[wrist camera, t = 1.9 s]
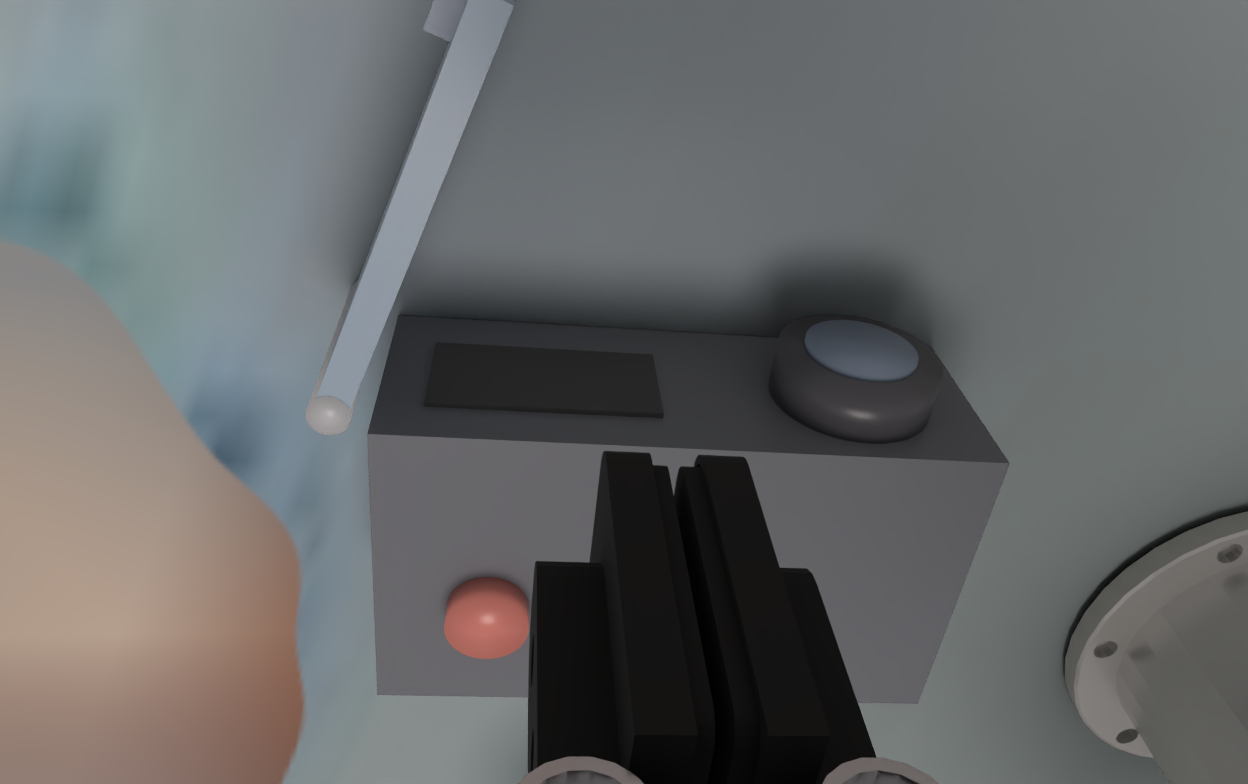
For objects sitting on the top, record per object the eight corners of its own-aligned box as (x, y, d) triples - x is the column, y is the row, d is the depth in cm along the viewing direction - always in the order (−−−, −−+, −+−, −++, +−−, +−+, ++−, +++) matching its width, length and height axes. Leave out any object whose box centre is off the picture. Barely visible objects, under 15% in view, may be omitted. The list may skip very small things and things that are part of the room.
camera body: (945, 300, 29) (1043, 429, 24) (863, 568, 35) (926, 725, 29) (397, 264, 28) (359, 395, 22) (402, 553, 33) (373, 717, 27)
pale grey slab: (464, -75, 23) (441, -28, 18) (524, -45, 23) (519, 9, 18) (328, 296, 28) (278, 419, 22) (379, 315, 28) (342, 440, 23)
